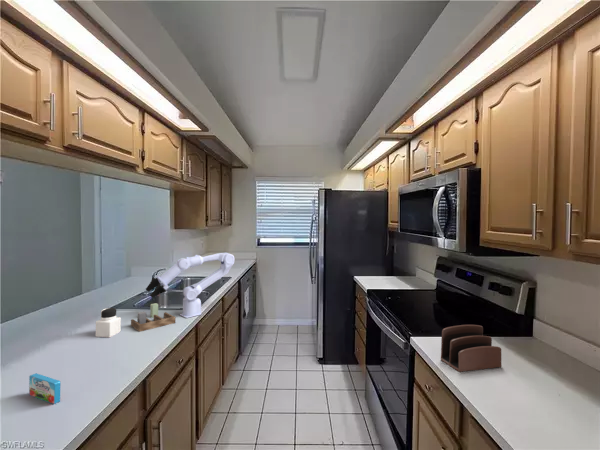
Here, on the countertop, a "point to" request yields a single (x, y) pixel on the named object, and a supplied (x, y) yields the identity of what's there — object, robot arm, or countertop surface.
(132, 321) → the comb rack
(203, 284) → the robot arm
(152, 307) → the sage block
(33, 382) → the yogurt
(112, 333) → the medicine bottle
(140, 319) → the gray block
